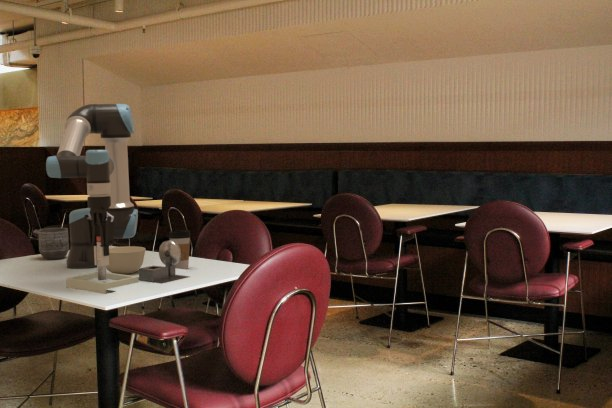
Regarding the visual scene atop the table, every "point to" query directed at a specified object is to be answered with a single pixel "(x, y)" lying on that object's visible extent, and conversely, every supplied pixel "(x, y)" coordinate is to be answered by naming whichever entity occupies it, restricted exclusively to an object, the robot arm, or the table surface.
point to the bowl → (125, 259)
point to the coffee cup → (182, 246)
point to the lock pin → (100, 268)
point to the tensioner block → (169, 258)
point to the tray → (99, 287)
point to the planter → (53, 243)
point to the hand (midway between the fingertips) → (101, 264)
